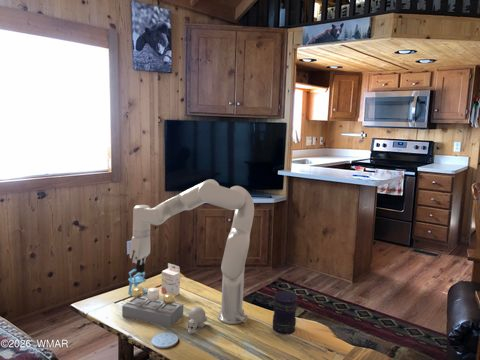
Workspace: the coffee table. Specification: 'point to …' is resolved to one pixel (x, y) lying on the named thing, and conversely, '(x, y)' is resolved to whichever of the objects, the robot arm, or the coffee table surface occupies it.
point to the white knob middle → (153, 294)
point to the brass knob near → (169, 298)
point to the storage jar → (284, 312)
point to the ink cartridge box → (171, 280)
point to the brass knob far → (137, 292)
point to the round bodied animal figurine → (196, 319)
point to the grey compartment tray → (152, 311)
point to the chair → (136, 281)
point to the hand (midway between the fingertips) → (140, 271)
